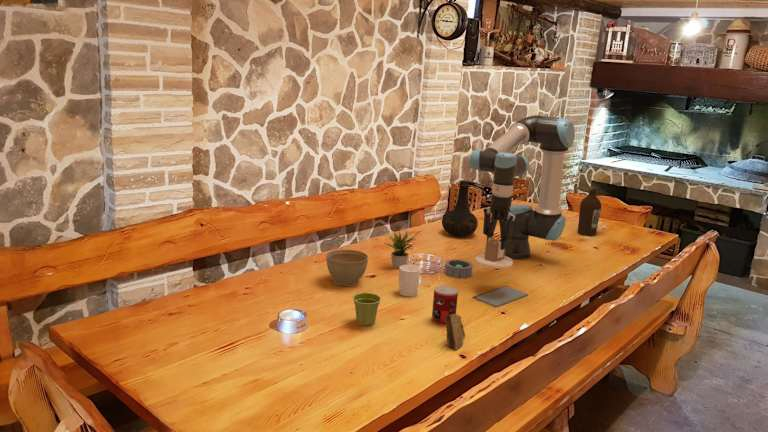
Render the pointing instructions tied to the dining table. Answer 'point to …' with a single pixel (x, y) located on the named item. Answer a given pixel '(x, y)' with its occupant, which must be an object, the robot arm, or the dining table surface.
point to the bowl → (458, 268)
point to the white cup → (409, 280)
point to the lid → (493, 256)
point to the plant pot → (366, 308)
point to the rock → (454, 331)
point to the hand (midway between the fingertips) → (494, 255)
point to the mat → (500, 296)
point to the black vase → (460, 215)
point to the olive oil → (589, 214)
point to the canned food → (444, 303)
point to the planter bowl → (346, 266)
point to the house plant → (400, 249)
